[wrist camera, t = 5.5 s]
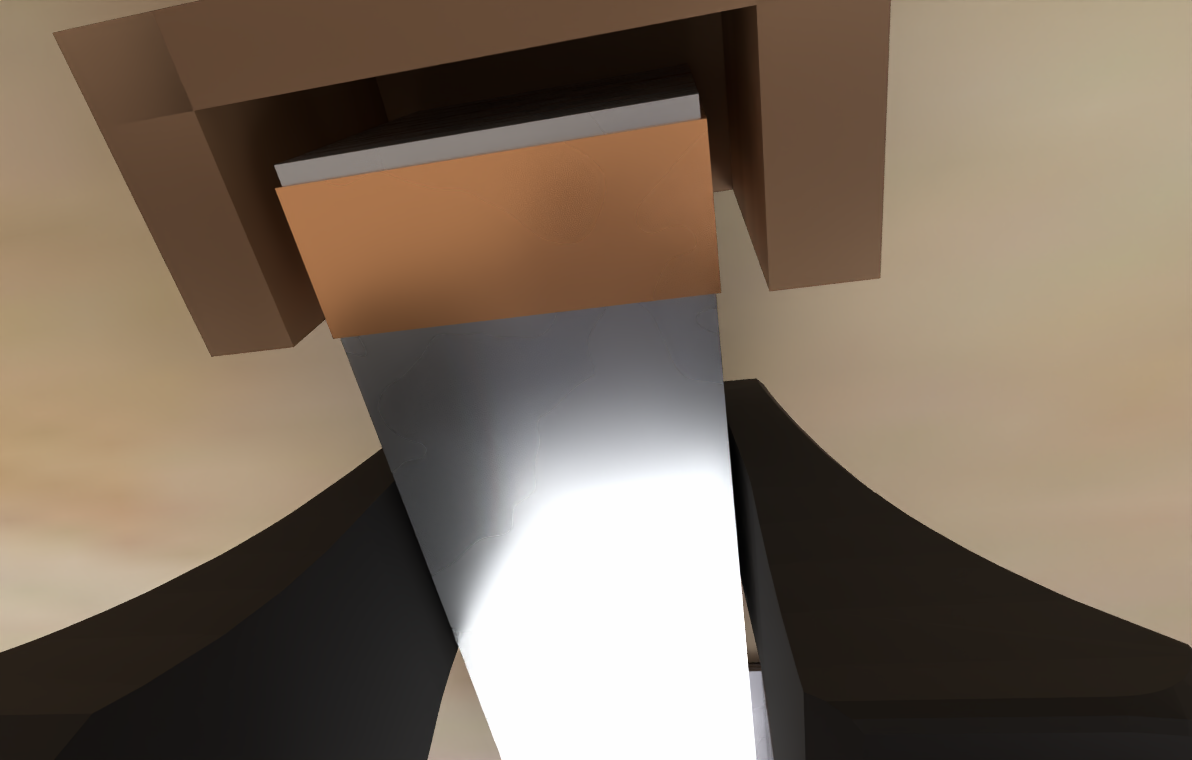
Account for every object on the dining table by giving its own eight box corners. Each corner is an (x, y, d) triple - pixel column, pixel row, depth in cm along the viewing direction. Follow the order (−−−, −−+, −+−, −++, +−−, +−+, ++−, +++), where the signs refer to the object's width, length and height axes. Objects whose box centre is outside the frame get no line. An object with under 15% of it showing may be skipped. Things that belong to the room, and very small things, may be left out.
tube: (744, 651, 15) (767, 856, 11) (564, 657, 15) (532, 851, 12) (691, 62, 9) (705, 93, 6) (413, 111, 10) (266, 168, 6)
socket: (798, 177, 10) (880, 278, 6) (370, 238, 11) (211, 356, 7) (793, -77, 8) (897, -153, 5) (299, 26, 10) (51, 33, 6)
